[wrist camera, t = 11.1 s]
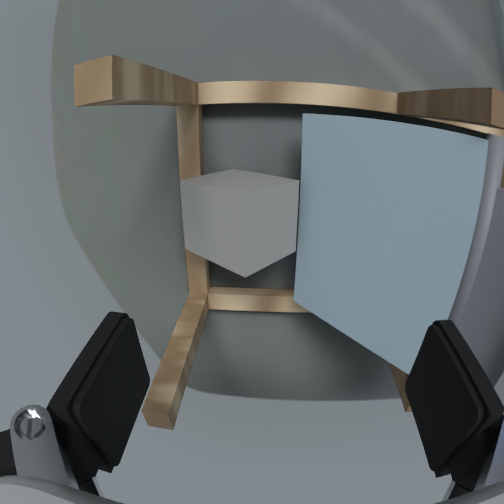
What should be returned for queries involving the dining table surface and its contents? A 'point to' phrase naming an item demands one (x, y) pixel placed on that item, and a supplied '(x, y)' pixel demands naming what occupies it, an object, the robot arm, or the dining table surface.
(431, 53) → the dining table surface
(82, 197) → the dining table surface
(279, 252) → the light grey block
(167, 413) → the frame
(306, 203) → the trapdoor
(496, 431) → the robot arm
